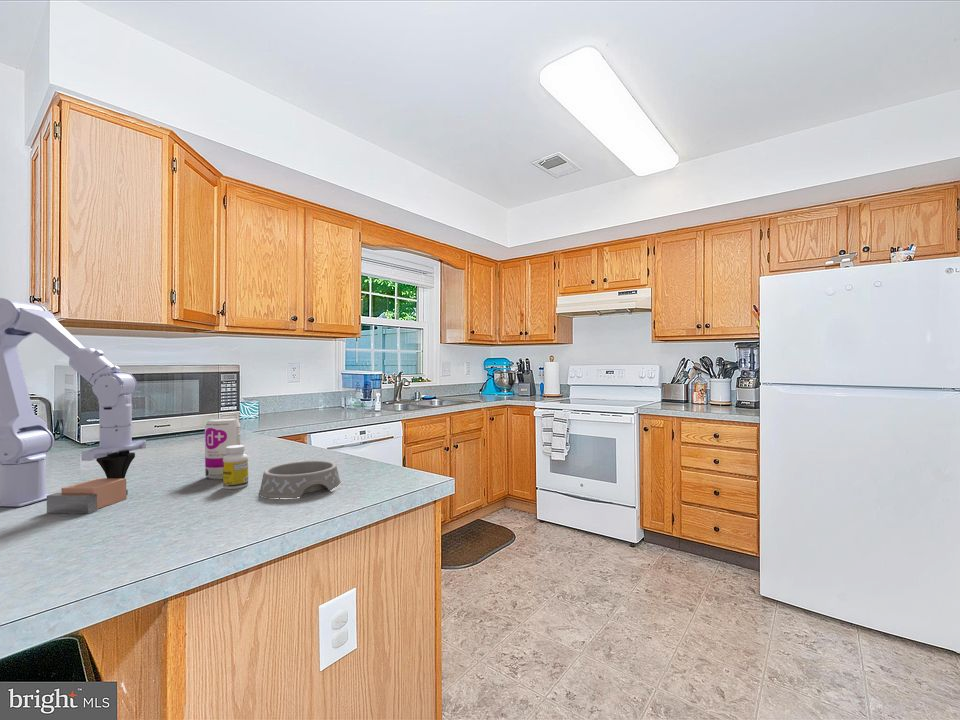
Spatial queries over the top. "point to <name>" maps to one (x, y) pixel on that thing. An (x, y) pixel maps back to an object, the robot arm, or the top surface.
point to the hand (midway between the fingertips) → (116, 486)
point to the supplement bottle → (235, 467)
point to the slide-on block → (101, 490)
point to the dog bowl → (298, 479)
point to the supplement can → (219, 444)
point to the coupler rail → (72, 502)
